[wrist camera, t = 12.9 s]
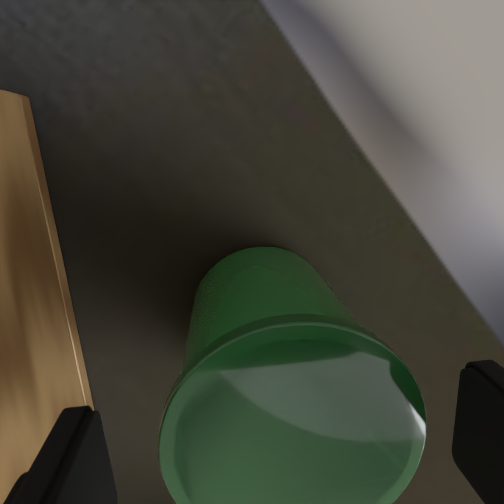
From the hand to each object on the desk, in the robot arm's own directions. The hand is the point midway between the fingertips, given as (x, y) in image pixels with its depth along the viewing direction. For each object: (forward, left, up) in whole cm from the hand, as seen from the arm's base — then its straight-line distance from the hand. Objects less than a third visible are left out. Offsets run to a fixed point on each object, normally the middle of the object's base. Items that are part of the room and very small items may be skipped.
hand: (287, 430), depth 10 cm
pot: (+1, 0, -9) cm, 9 cm away
